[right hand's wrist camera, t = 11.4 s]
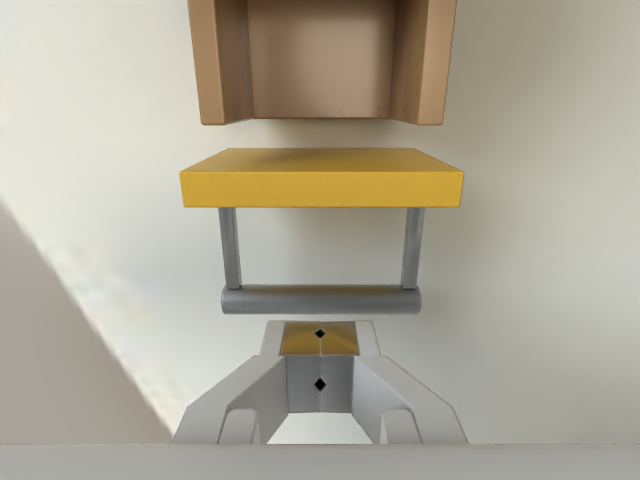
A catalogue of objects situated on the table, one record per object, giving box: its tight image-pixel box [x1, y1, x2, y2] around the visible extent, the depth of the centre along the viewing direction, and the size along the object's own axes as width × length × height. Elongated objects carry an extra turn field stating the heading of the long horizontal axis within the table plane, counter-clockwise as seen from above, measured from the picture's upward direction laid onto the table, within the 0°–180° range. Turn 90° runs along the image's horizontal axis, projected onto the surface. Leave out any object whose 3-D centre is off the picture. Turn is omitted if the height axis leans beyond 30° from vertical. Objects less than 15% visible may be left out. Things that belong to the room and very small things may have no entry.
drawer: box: [179, 0, 464, 314], centre depth 13 cm, size 22×9×6 cm, turn 0°
